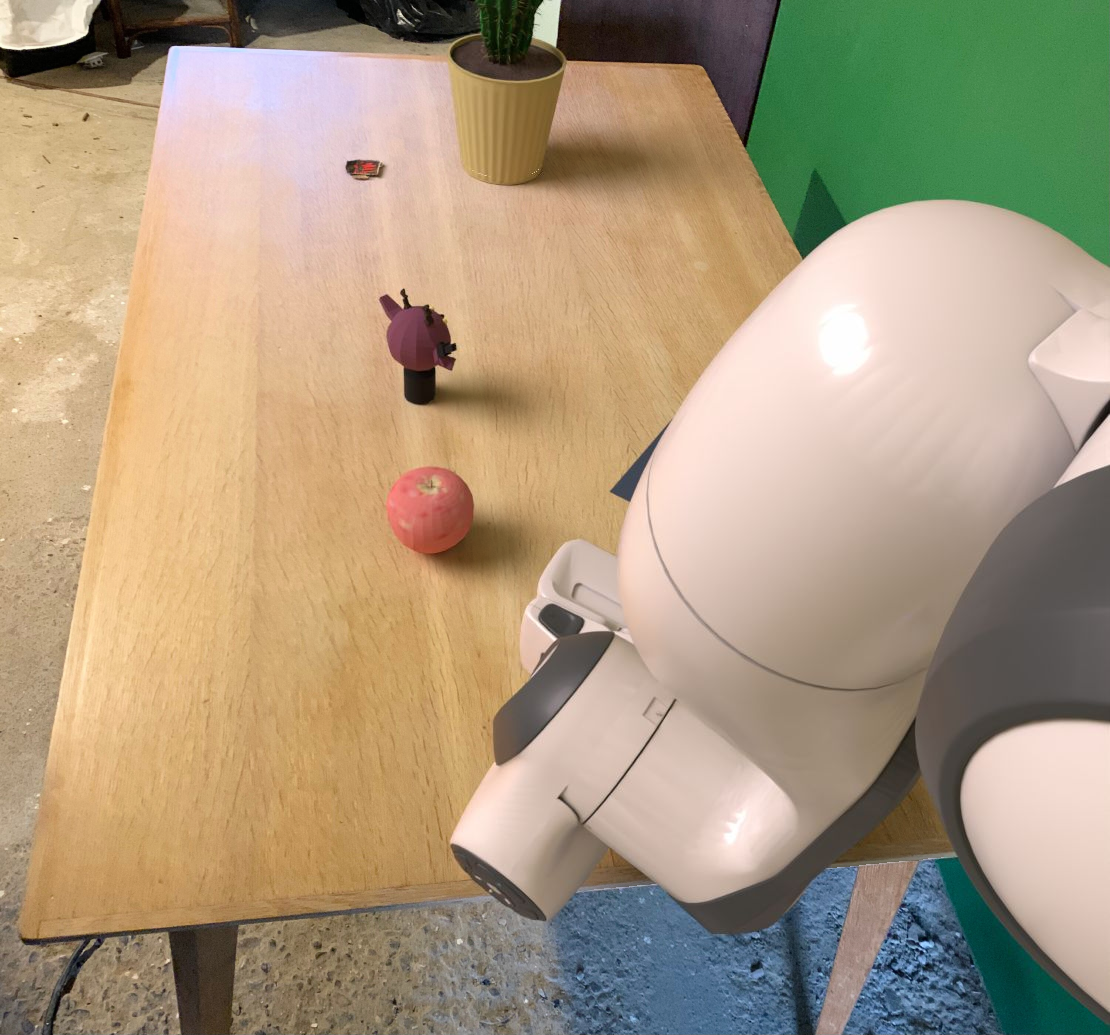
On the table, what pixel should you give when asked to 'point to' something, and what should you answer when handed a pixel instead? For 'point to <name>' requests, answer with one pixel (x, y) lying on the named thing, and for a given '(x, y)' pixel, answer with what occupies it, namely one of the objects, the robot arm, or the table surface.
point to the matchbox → (363, 167)
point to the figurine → (418, 346)
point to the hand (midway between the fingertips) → (713, 567)
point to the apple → (430, 509)
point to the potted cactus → (504, 93)
